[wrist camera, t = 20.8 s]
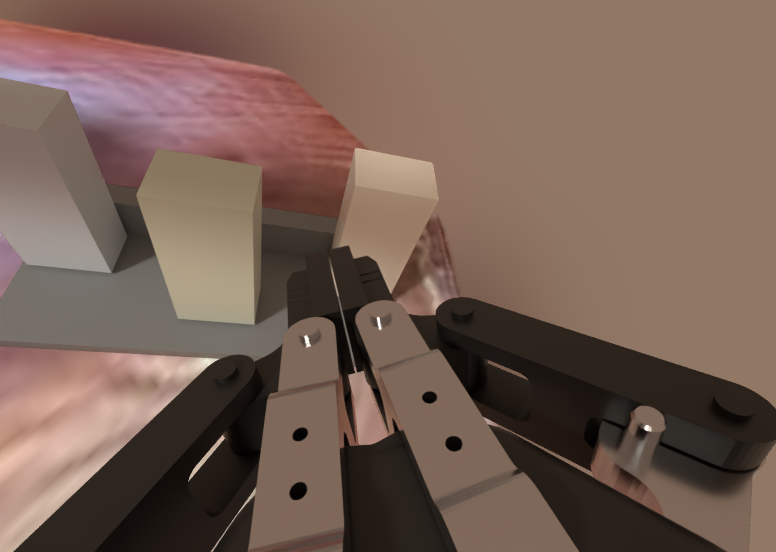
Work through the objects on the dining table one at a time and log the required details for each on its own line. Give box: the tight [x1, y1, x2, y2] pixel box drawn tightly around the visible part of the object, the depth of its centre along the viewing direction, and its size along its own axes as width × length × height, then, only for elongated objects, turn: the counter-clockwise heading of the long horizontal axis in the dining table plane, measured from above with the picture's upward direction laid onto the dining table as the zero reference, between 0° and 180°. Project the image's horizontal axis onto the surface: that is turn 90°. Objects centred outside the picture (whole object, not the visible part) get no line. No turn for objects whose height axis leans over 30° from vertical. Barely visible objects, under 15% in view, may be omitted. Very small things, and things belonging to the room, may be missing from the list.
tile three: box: [0, 78, 127, 273], centre depth 28 cm, size 4×6×14 cm
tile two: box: [136, 148, 262, 325], centre depth 28 cm, size 4×6×14 cm
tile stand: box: [0, 184, 356, 366], centre depth 34 cm, size 13×31×5 cm, turn 93°
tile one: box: [329, 148, 439, 296], centre depth 33 cm, size 4×6×14 cm
